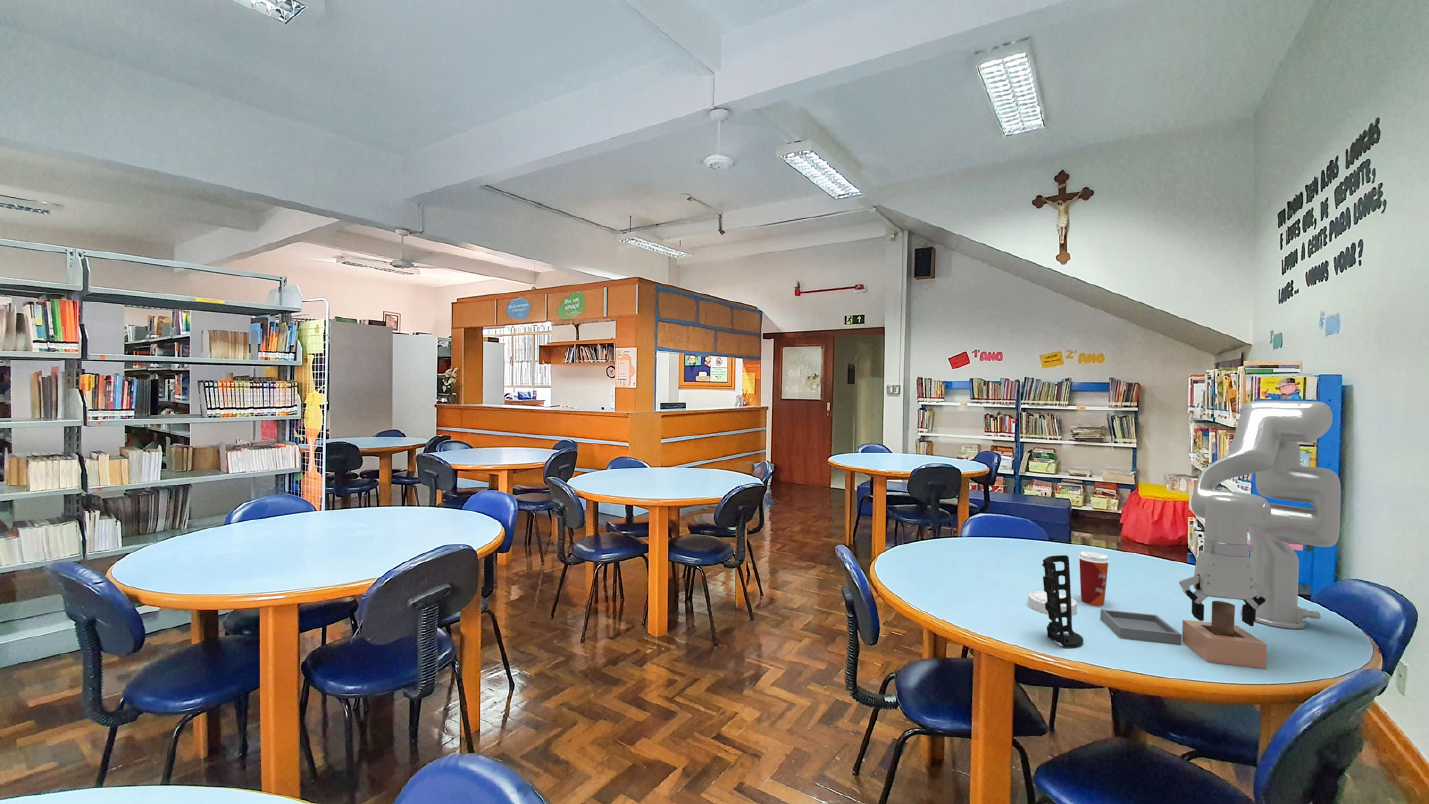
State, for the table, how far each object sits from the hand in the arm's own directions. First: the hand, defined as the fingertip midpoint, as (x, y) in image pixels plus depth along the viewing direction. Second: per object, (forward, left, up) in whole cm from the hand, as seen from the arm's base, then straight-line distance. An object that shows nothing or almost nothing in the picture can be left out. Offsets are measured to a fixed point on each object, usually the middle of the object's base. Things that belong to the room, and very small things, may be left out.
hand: (1222, 621), depth 135 cm
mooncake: (+30, -21, -8) cm, 38 cm away
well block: (0, 0, -8) cm, 8 cm away
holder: (+34, +2, -8) cm, 35 cm away
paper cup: (+17, -30, -8) cm, 35 cm away
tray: (+13, -10, -8) cm, 18 cm away
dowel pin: (0, 0, -8) cm, 8 cm away
